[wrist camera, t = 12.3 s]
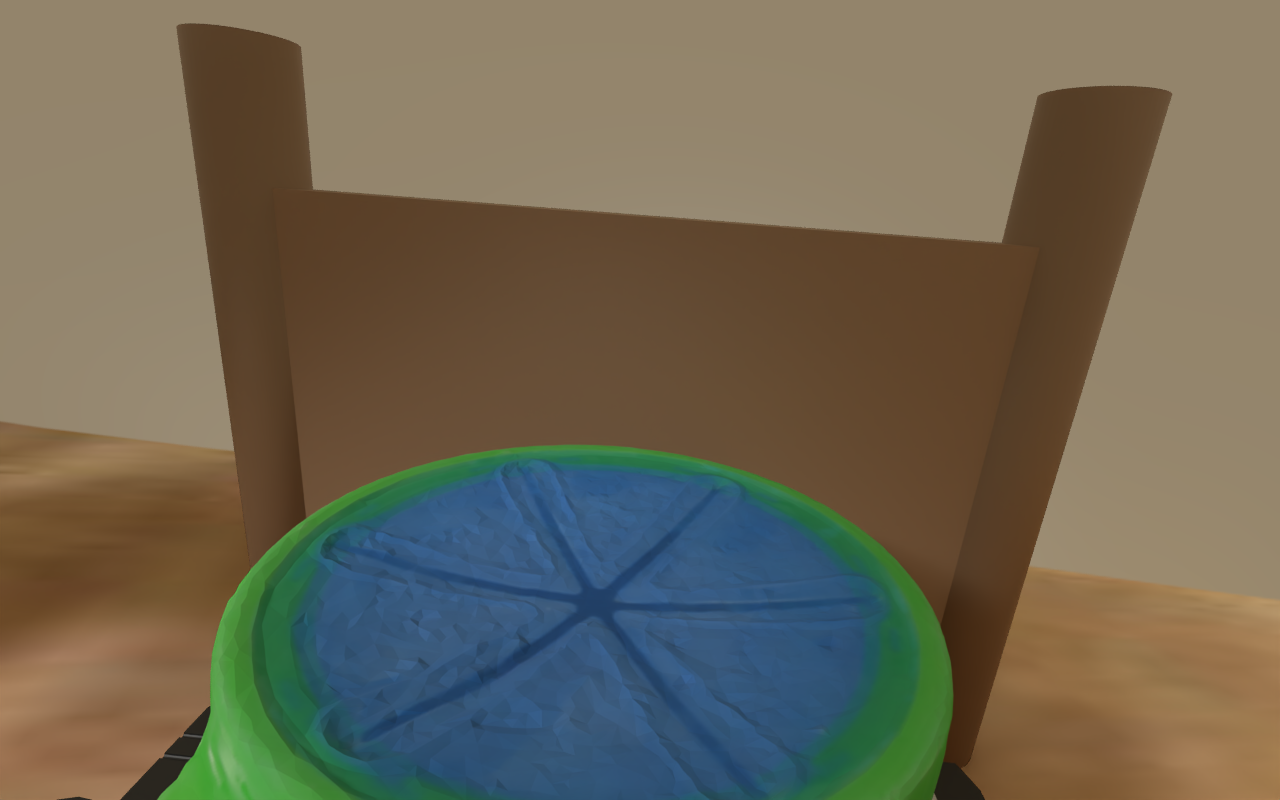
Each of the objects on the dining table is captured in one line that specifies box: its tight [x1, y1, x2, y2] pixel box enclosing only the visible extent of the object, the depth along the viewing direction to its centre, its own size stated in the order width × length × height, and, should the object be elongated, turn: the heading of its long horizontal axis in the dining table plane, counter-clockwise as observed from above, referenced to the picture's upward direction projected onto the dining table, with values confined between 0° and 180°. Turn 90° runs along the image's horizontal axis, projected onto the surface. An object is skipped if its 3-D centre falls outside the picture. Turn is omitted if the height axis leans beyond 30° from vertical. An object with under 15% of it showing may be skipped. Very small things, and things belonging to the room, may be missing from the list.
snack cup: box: [157, 445, 953, 800], centre depth 11 cm, size 16×10×10 cm
